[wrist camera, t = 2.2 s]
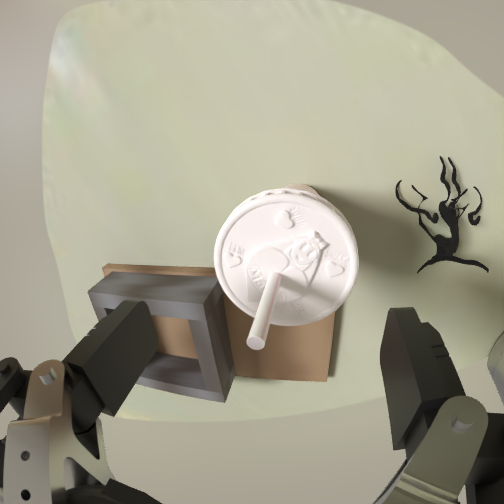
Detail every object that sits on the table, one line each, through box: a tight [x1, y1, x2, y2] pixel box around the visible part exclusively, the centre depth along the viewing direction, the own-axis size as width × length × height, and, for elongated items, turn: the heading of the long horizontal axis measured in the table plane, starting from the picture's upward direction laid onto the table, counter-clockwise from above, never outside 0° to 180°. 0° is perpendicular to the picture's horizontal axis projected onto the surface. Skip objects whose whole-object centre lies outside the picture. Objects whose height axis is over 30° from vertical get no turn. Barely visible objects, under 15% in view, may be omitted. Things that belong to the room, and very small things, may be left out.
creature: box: [396, 156, 489, 273], centre depth 16 cm, size 8×5×8 cm
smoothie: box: [214, 184, 359, 350], centre depth 14 cm, size 6×6×14 cm
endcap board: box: [88, 264, 335, 403], centre depth 24 cm, size 22×12×5 cm, turn 95°
